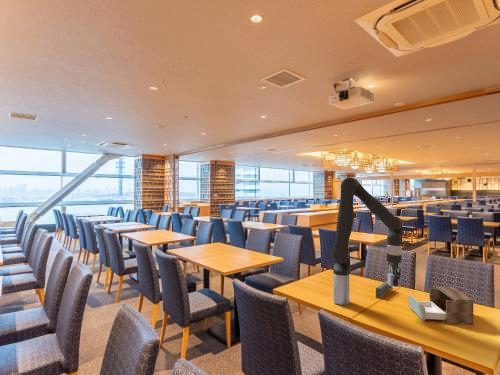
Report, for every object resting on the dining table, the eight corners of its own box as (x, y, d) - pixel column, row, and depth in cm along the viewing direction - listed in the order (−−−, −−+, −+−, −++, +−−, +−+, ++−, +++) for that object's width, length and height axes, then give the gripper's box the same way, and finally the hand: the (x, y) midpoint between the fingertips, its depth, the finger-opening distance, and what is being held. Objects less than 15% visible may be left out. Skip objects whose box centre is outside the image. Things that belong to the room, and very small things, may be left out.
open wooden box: (447, 323, 145) (447, 298, 145) (429, 308, 164) (429, 286, 164) (473, 325, 144) (473, 300, 144) (452, 309, 162) (452, 287, 162)
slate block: (390, 286, 156) (390, 275, 156) (387, 283, 161) (387, 272, 161) (400, 287, 155) (400, 275, 155) (397, 283, 160) (397, 273, 160)
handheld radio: (374, 297, 181) (388, 287, 199) (380, 299, 179) (393, 289, 197) (374, 287, 181) (388, 278, 199) (380, 288, 179) (394, 279, 196)
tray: (423, 320, 147) (423, 307, 147) (408, 305, 166) (408, 294, 166) (448, 322, 145) (448, 309, 145) (430, 306, 164) (430, 295, 164)
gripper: (382, 249, 166) (382, 279, 166) (391, 255, 151) (390, 288, 152) (396, 250, 165) (396, 280, 165) (406, 256, 150) (406, 289, 150)
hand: (393, 283), depth 158 cm, fingers closed on slate block, 5 cm apart
